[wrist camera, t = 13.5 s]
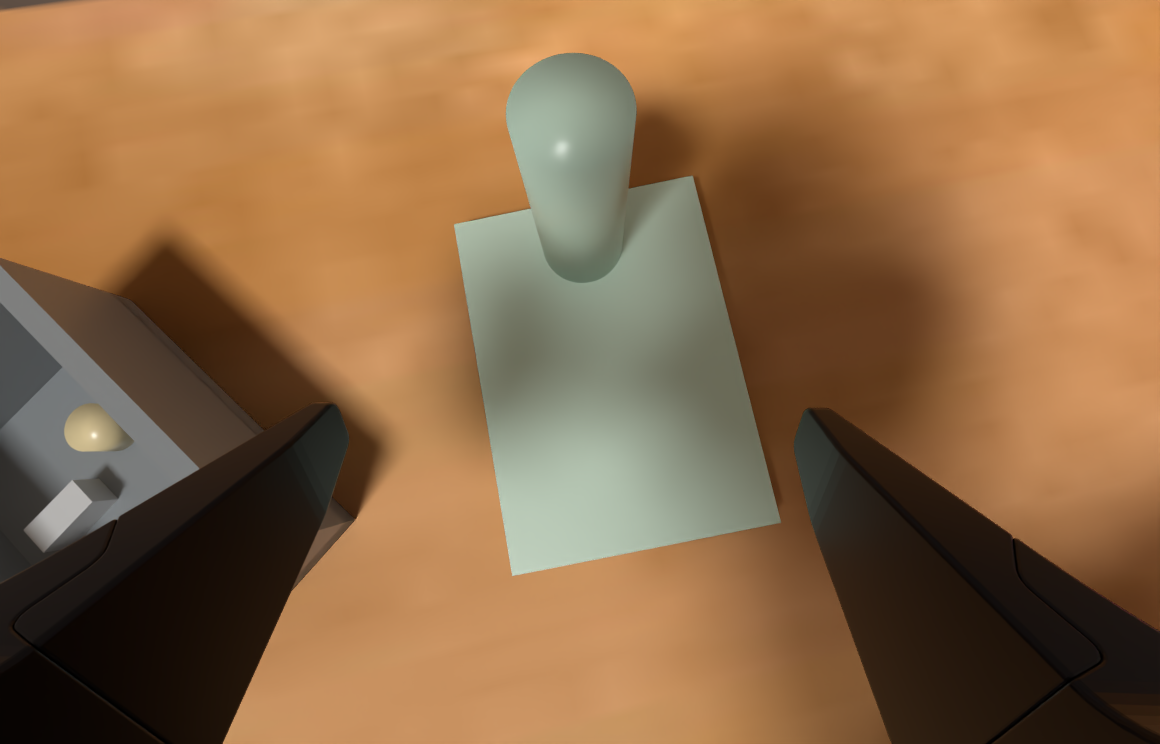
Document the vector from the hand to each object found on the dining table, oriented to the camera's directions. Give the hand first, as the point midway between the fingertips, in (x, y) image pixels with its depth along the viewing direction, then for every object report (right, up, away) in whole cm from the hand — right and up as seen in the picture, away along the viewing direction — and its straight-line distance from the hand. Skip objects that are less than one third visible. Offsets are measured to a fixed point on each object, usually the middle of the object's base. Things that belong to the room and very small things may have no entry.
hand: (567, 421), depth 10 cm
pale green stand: (+1, +1, +10) cm, 11 cm away
